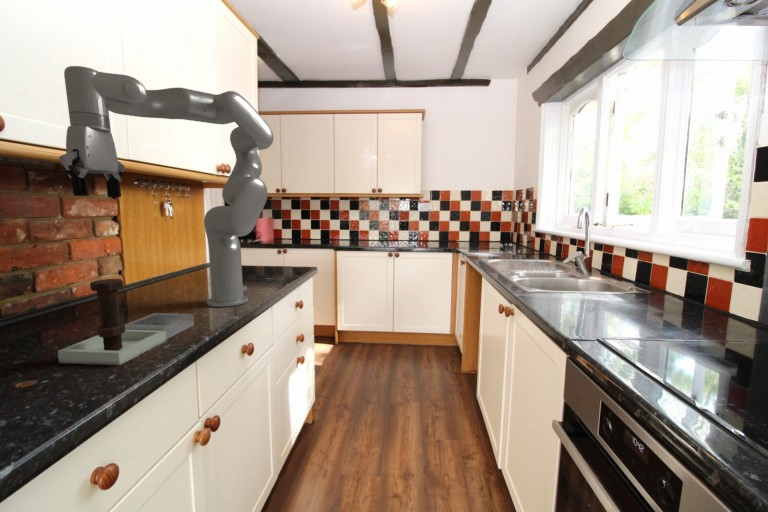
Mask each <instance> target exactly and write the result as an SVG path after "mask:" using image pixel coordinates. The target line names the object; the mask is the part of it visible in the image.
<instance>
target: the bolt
mask: <svg viewBox="0 0 768 512" xmlns="http://www.w3.org/2000/svg"><path fill="white" fill-rule="evenodd" d="M89 288H90V290H91V291H92V292H96V295H97V299H98V304H99V307H98V308H99V314H100V323H101V324H100V326H98V327H97V329H96V330H97V335H99V337H102V338H103V340H104V341H103V343H104V344H103V345H104V349H105V350H109V351H119V350H120V349H122V347H123V346H122V340H121V339H122V337H121V336H122V335H121V334H123V333H124V332H125V324H124V323H123V322H121V318H120V309H119V308H120V307H119V298H118V296H119V291H118V290H119V289H121V288H124V281H123V280H122V279H121V278H107V279H99V280H98V279H97V280H95V281H91V282H90V283H89Z"/></svg>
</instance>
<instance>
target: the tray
mask: <svg viewBox="0 0 768 512" xmlns="http://www.w3.org/2000/svg"><path fill="white" fill-rule="evenodd" d="M121 335H122V336H121V337H122V339H121V340H122V346H123V347H122V349H120V350H119V351H109V350H105V349H104V345H103V344H104V343H103V341H104V340H103V338H102V337H99V335H98V334H97V335H95V336H91V337H89V338H87V339H84V340H82V341H79V342H76V343H74V344H72V345H69V346H67V347H63V348H61V349H59V350H57V358H58V363H59V364H75V365H76V364H81V365H102V366H103V365H105V366H106V365H107V366H122V365H123V364H126V363H127V362H129V361H131V360H132V359H135V358H137V357H139V356H141V355H142V353H143V354H144V352H145V353H146V351H147V352H148V351H150V350H153V349H154V348H156V347H158V346H160V345H162V344H164V343H166V342H167V339H166V333H165V331H150V330H125V332H124V333H123V334H121ZM140 354H141V355H140Z"/></svg>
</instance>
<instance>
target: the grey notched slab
mask: <svg viewBox="0 0 768 512" xmlns="http://www.w3.org/2000/svg"><path fill="white" fill-rule="evenodd" d="M124 325H125V330H150V331H165V333H166V340H169V338H172V337H174V336H176V335H177V334H179V333H181V332H183V331H186V330H187V329H189V328H191V327H194V326H195V318H194V314H193V313H173V312H172V313H165V312H164V313H163V312H161V313H160V312H153V313H151V314H148V315H146V316H144V317H140V318H138V319H135V320H133V321H130V322H127V323H125V324H124Z"/></svg>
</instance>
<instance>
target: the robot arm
mask: <svg viewBox="0 0 768 512" xmlns="http://www.w3.org/2000/svg"><path fill="white" fill-rule="evenodd" d="M63 75H64V82H65V83H64V86H65V92H66V100H67V110H68V117H69V126H67V130H66V137H65V149H66V151H65V152H66V153H64V154H62V155H59V157H58V159H59V161H60V163H61V165H62V166H63V169H64V171H65V172H66V173H67V174H68V175H67V176H68V177H69V178H70V179H71V184H72V193H73V195H74V197H86V196H88V197H89V195H90V193H89V192H90V191H89V184H88V178H86V177H85V176H86V175H87V173H92V174H103V175H104V177H105V178H106V180H107V181H105V182H106V185H105V186H106V191H107V192H106V194H107V197H109V198H121V197H122V191H121V190H122V189H121V182H122V178H123V176H124V171H125V165H124V164H123V163H122V162H120V161H119V160H118V155H117V154H118V153H117V148H116V145H115V140H114V137H113V134H112V131H111V119H110V113H109V112H111V113H113V114H117V115H123V116H128V117H129V116H130V117H139V118H148V119H151V118H152V119H165V120H167V119H168V120H185V121H192V122H199V123H207V124H215V125H227V124H232V123H235V124H236V125H237V126H236V127H235V128H234V129H232V130H231V132H230V135H229V141H230V142H229V143H230V145H231V147H232V149H233V151H234V154H235V159H236V160H235V163H234V166H233V169H232V171H231V172H230V175H229V176H228V178H227V180H226V183H225V184H224V186H223V189H222V193H221V194H222V195H221V196H222V199H223V201H224V202H225V203H226V204H227V205H218V206H214V207H212V208H210V209H209V210H208V211H207V212H206V213H205V215H204V217H203V218H204V219H203V224H204V225H203V226H204V230H205V234H206V238H207V239H206V240H207V244H208V257H209V258H208V260H209V261H208V262H209V274H210V277H209V278H210V289H211V292H210V293H211V297H210V298H208V299H207V300H206V305H207V306H208V307H213V308H214V307H215V308H216V307H217V308H225V307H232V306H233V307H234V306H239V305H242V304H247V302H248V301H249V296H247V295H244V292H246V291H247V290H248V286H246V285H243V269H242V265H243V264H242V248H241V243H240V240H239V238H238V237H241V238H242V237H244V236H247V235H249V234H250V233H251V232H252V231H253V230H254V228H255V226H256V224H257V222H258V220H259V218H260V216H261V214H262V211H263V209H264V208H265V205H266V203H267V199H268V188H267V185H266V183H265V182H264V181H263V179H261V178H260V177H261V175H262V170H263V169H262V168H263V166H262V160H261V158H260V155H259V153H258V151H263V150H266V149H268V148H269V147H271V146H272V145H273V142H274V133H273V130H272V128H271V127H270V125H269V124H268V123H267V121H266V120H265V119H264V118H263V117H262V116H261V115H260V113H259V112H258V111H257V110H256V109H255V108H254V106H253V105H252V104H251V103H250V101H248V100H247V99H246V98H245V97H243V95H242V94H240V93H239V92H236V91H234V90H228V91H225V92H221V93H217V94H214V93H210V92H209V93H208V92H204V91H199V90H193V89H191V88H185V87H169V88H164V89H163V88H162V89H161V88H160V89H146V87H145V85H144V84H143V83H142V82H141V81H140V80H139V79H137V78H135V77H133V76H130V75H127V74H121V73H110V72H103V71H98V70H96V69H94V68H90V67H85V66H80V65H69V66H67V67H65V69H64V71H63Z"/></svg>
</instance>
